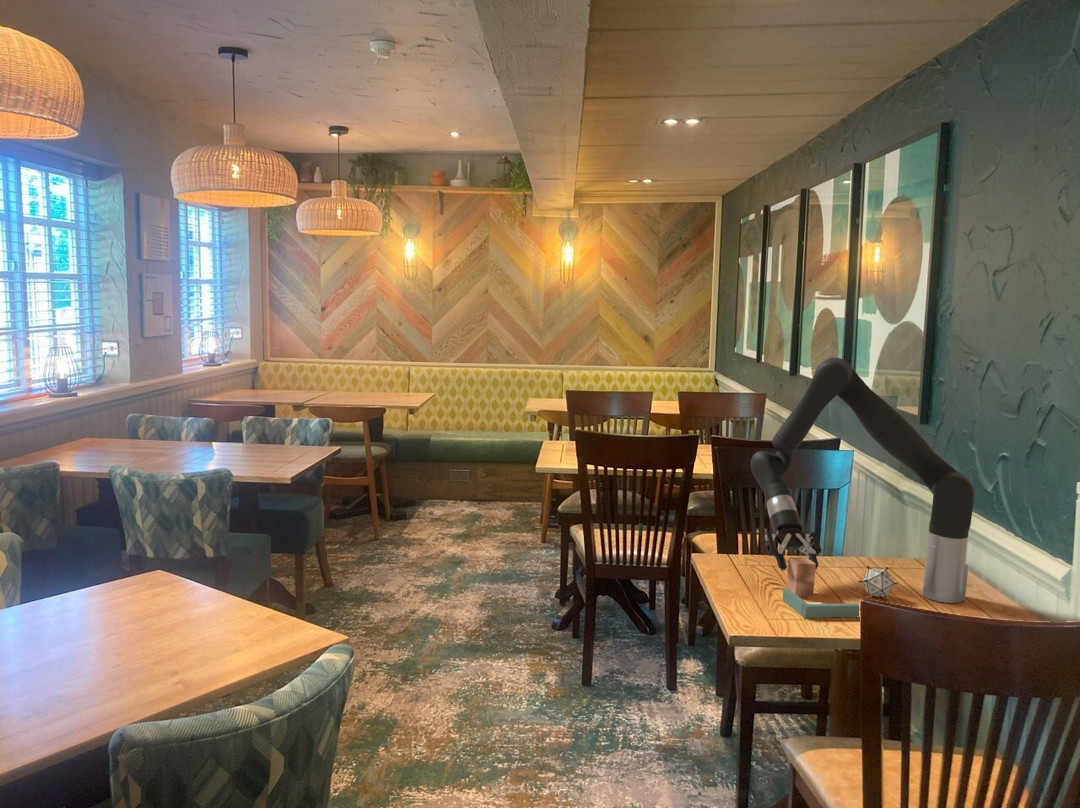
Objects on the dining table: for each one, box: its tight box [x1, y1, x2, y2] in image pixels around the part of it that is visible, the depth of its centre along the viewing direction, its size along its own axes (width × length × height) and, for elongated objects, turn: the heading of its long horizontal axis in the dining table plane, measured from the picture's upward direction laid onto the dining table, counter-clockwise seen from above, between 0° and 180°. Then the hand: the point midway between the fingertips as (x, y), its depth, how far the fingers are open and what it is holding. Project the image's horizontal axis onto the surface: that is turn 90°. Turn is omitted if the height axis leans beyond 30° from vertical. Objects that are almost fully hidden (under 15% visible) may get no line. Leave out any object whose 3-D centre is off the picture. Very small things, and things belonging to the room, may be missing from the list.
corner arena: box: [782, 588, 860, 619], centre depth 197 cm, size 16×12×3 cm
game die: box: [857, 565, 899, 598], centre depth 207 cm, size 9×8×10 cm
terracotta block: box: [785, 557, 816, 598], centre depth 207 cm, size 5×5×9 cm
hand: (799, 569), depth 207 cm, fingers open, 8 cm apart
